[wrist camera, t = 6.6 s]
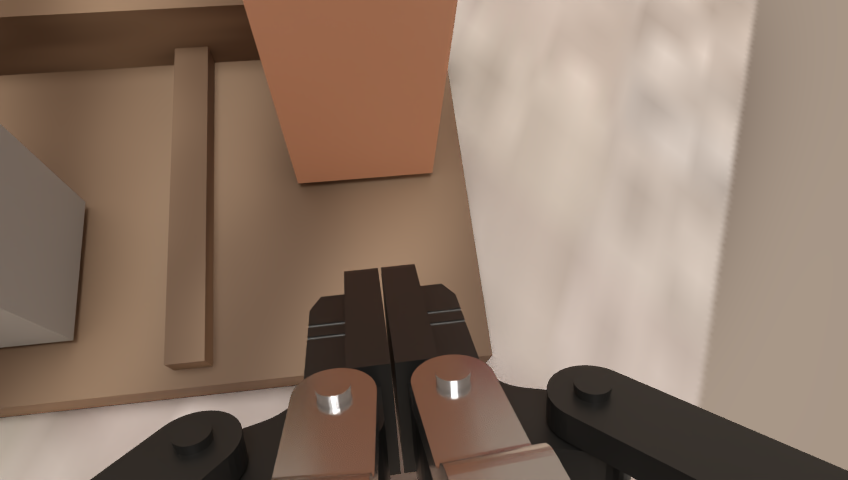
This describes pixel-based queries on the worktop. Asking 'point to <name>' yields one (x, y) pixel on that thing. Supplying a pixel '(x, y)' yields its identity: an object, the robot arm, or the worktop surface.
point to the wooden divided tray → (199, 206)
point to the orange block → (355, 82)
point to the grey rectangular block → (36, 249)
